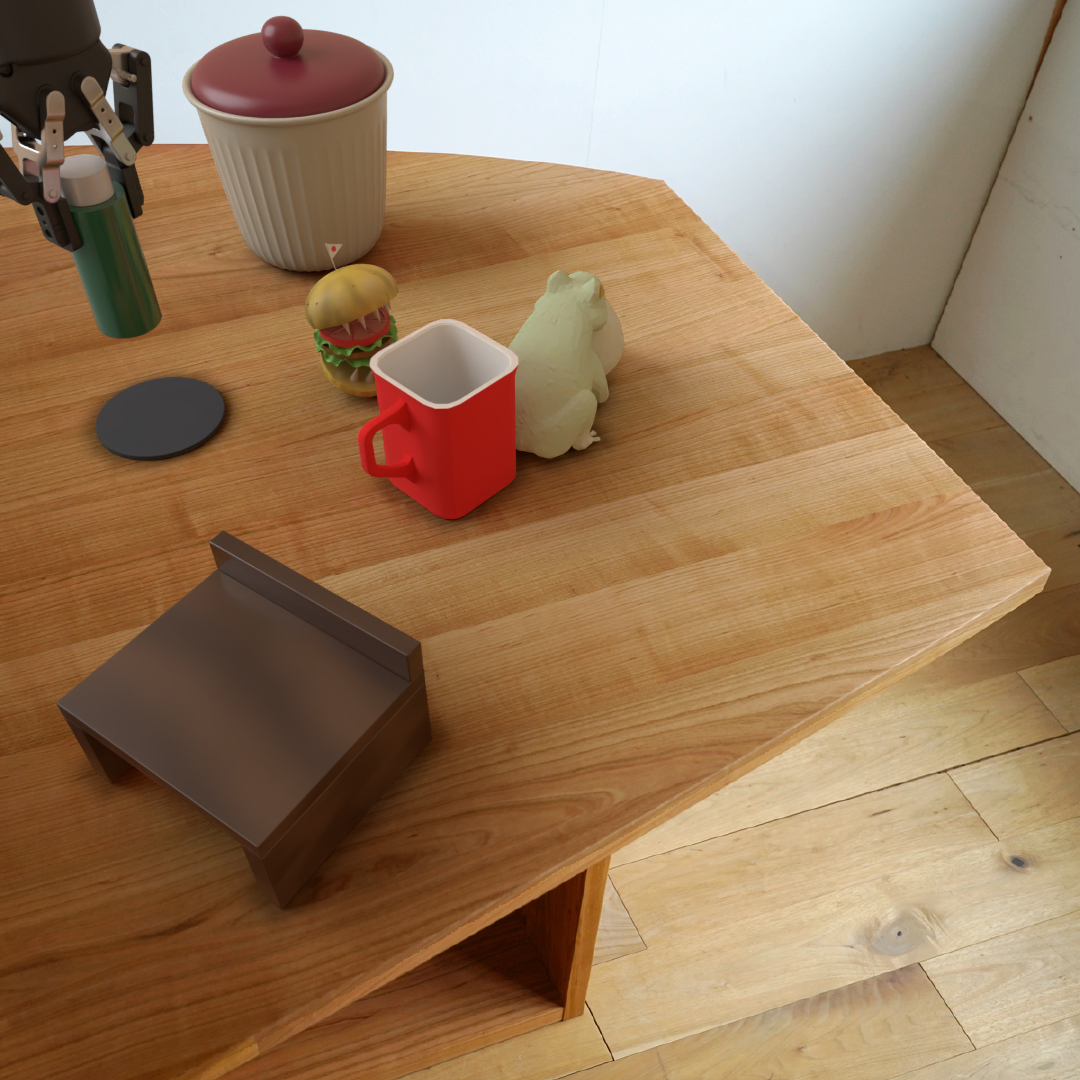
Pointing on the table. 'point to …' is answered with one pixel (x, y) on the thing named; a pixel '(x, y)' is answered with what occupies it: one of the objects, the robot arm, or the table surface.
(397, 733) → the shelf
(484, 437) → the mug
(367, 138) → the canister
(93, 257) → the bottle
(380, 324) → the hamburger
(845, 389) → the table surface
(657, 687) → the table surface
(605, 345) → the figurine
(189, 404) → the coaster
